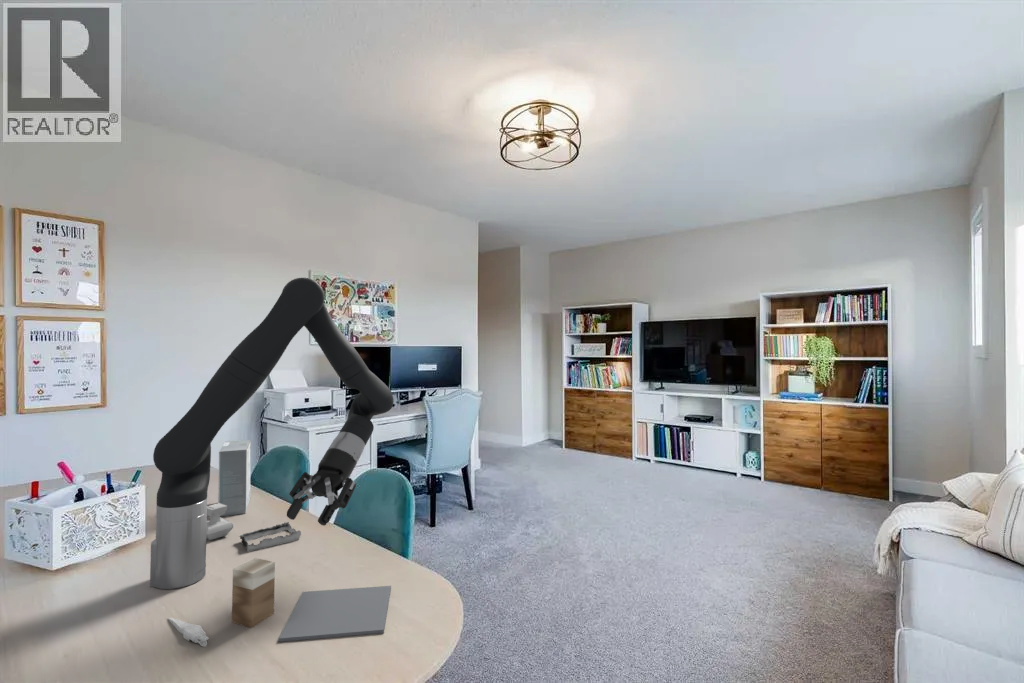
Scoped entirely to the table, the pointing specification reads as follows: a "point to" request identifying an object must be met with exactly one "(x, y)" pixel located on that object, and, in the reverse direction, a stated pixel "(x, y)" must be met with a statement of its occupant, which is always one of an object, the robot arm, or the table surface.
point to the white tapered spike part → (190, 631)
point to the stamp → (217, 522)
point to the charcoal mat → (338, 613)
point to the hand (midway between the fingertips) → (305, 520)
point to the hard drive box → (234, 476)
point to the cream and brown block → (253, 592)
